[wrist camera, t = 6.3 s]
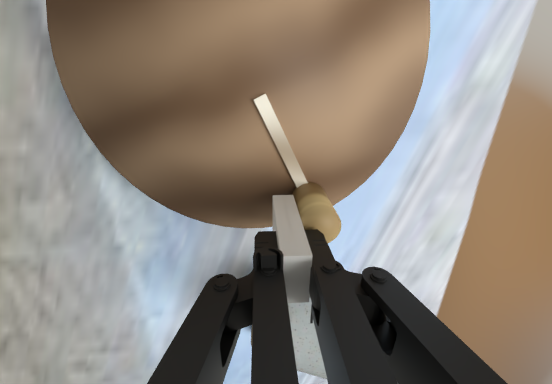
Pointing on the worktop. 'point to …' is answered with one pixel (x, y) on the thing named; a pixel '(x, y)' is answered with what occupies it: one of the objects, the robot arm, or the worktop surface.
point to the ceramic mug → (305, 340)
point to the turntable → (243, 97)
